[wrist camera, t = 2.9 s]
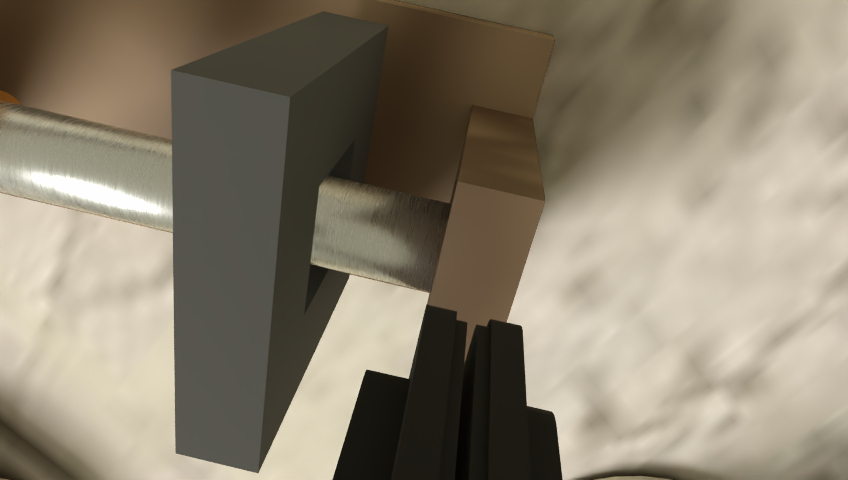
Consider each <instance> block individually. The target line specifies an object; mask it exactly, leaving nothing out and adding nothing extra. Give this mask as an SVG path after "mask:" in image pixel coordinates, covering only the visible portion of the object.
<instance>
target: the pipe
mask: <svg viewBox="0 0 848 480" xmlns="http://www.w3.org/2000/svg"><path fill="white" fill-rule="evenodd" d="M0 192H3V193H7V194H12V195H16V196H20V197H25V198H29V199H33V200H37V201H42V202H46V203H50V204H55V205H59V206H63V207H67V208H72V209H76V210H80V211H85V212H89V213H93V214H97V215H102V216H106V217H110V218H115V219H119V220H123V221H127V222H132V223H136V224H140V225H145V226H149V227H153V228H157V229H162V230H166V231H170V232H173V195H172V139H167V138H163V137H159V136H154V135H150V134H146V133H141V132H137V131H133V130H128V129H124V128H120V127H115V126H111V125H106V124H102V123H98V122H93V121H89V120H85V119H80V118H76V117H72V116H67V115H63V114H59V113H54V112H50V111H46V110H41V109H37V108H33V107H28V106H24V105H21V104H20V102H19V101H18V100H17V99H16V98H15V97H13V96H12V95H10V94H8V93H6V92H4V91H1V90H0ZM450 209H451V204H450V203H446V202H441V201H437V200H433V199H428V198H424V197H420V196H415V195H411V194H406V193H402V192H398V191H393V190H389V189H385V188H380V187H376V186H372V185H367V184H363V183H359V182H354V181H350V180H346V179H341V178H337V177H333V176H327V177H326V178H325V180H324V181H323V182H322V183H321V185H320V186H319V193H318V202H317V210H316V219H315V228H314V236H313V245H312V253H311V262H310V264H312V265H316V266H320V267H325V268H329V269H333V270H337V271H342V272H346V273H350V274H355V275H359V276H363V277H367V278H372V279H376V280H380V281H385V282H389V283H393V284H398V285H402V286H406V287H410V288H415V289H419V290H423V291H428V292H431V290H432V287H433V283H434V278H435V274H436V270H437V266H438V262H439V257H440V253H441V249H442V244H443V240H444V236H445V231H446V227H447V222H448V218H449V213H450Z"/></svg>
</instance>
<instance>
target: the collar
mask: <svg viewBox="0 0 848 480" xmlns="http://www.w3.org/2000/svg"><path fill="white" fill-rule="evenodd" d="M387 31H388V26H387V25H382V24H378V23H374V22H369V21H365V20H360V19H356V18H351V17H347V16H342V15H338V14H333V13H329V12H325V11H322V12H320V13H317V14H315V15H312V16H309V17H307V18H304V19H302V20H299V21H297V22H294V23H291V24H289V25H286V26H284V27H281V28H278V29H276V30H273V31H271V32H268V33H265V34H263V35H260V36H258V37H255V38H252V39H250V40H247V41H245V42H242V43H240V44H237V45H234V46H232V47H229V48H227V49H224V50H221V51H219V52H216V53H214V54H211V55H208V56H206V57H203V58H201V59H198V60H195V61H193V62H190V63H188V64H185V65H183V66H180V67H177V68H175V69H172V70H171V114H172V195H173V276H174V357H175V438H176V453H177V454H181V455H185V456H189V457H193V458H197V459H202V460H206V461H210V462H214V463H218V464H222V465H226V466H231V467H235V468H239V469H243V470H247V471H251V472H256V473H259V470H260V468H261V466H262V464H263V462H264V460H265V458H266V455H267V453H268V451H269V449H270V447H271V445H272V442H273V440H274V438H275V436H276V434H277V432H278V430H279V427H280V425H281V423H282V421H283V419H284V417H285V414H286V412H287V410H288V408H289V406H290V404H291V401H292V399H293V397H294V395H295V393H296V391H297V389H298V386H299V384H300V382H301V380H302V378H303V376H304V373H305V371H306V369H307V367H308V365H309V363H310V361H311V358H312V356H313V354H314V352H315V350H316V348H317V345H318V343H319V341H320V339H321V337H322V335H323V333H324V330H325V328H326V326H327V324H328V322H329V320H330V317H331V315H332V313H333V311H334V309H335V307H336V304H337V302H338V300H339V298H340V296H341V294H342V292H343V289H344V287H345V285H346V283H347V281H348V279H349V275H350V273H346V272H342V271H337V270H333V269H329V268H325V267H320V266H316V265H312V264H310V262H311V253H312V245H313V236H314V228H315V219H316V210H317V202H318V193H319V186H320V185H321V183H322V182H323V181H324V180H325V178H326V177H327V176H333V177H337V178H341V179H346V180H350V181H354V182H359V183H363V184H364V179H365V172H366V166H367V159H368V153H369V147H370V140H371V134H372V127H373V121H374V115H375V108H376V102H377V95H378V89H379V83H380V76H381V70H382V63H383V57H384V51H385V44H386V38H387Z"/></svg>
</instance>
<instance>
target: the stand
mask: <svg viewBox="0 0 848 480" xmlns="http://www.w3.org/2000/svg"><path fill="white" fill-rule="evenodd" d="M322 11H325V12H329V13H333V14H338V15H342V16H347V17H351V18H356V19H360V20H365V21H369V22H374V23H378V24H382V25H387V26H388V31H387V38H386V44H385V51H384V57H383V63H382V70H381V76H380V83H379V89H378V95H377V102H376V108H375V115H374V121H373V127H372V134H371V140H370V147H369V153H368V159H367V166H366V172H365V179H364V184H367V185H372V186H376V187H380V188H385V189H389V190H393V191H398V192H402V193H406V194H411V195H415V196H420V197H424V198H428V199H433V200H437V201H441V202H446V203H450V204H451V209H450V213H449V218H448V222H447V227H446V231H445V236H444V240H443V244H442V249H441V253H440V257H439V262H438V266H437V270H436V274H435V278H434V283H433V287H432V290H431V292H428V291H424V292H428V293H430V294H429V298H428V303H427V305H431V306H436V307H440V308H445V309H449V310H453V311H457V319H456V320H460V321H464V322H467V336H466V348H465V360H466V356H467V353H468V350H469V346H470V343H471V339H472V336H473V333H474V329H475V327H476V325H482V326H486V327H487V324H488V322H489V320H490V319H493V320H498V321H502V322H507V319H508V316H509V313H510V310H511V306H512V303H513V300H514V297H515V294H516V291H517V288H518V285H519V282H520V278H521V275H522V272H523V269H524V266H525V263H526V260H527V257H528V254H529V250H530V247H531V244H532V241H533V238H534V235H535V232H536V229H537V226H538V222H539V219H540V216H541V213H542V210H543V207H544V204H545V196H544V190H543V183H542V177H541V171H540V164H539V158H538V151H537V145H536V138H535V132H534V125H533V119H532V118H533V115H534V111H535V108H536V104H537V101H538V98H539V94H540V91H541V87H542V84H543V80H544V77H545V73H546V70H547V66H548V63H549V59H550V56H551V52H552V49H553V46H554V42H555V39H554V37H553V36H552V35H547V34H543V33H539V32H534V31H530V30H525V29H521V28H516V27H512V26H507V25H503V24H498V23H494V22H489V21H485V20H480V19H476V18H471V17H467V16H462V15H458V14H453V13H449V12H445V11H440V10H436V9H431V8H427V7H422V6H418V5H413V4H409V3H404V2H400V1H395V0H0V90H1V91H4V92H6V93H8V94H10V95H12V96H13V97H15V98H16V99H17V100H18V101H19V102H20V104H21V105H24V106H28V107H33V108H37V109H41V110H46V111H50V112H54V113H59V114H63V115H67V116H72V117H76V118H80V119H85V120H89V121H93V122H98V123H102V124H106V125H111V126H115V127H120V128H124V129H128V130H133V131H137V132H141V133H146V134H150V135H154V136H159V137H163V138H167V139H172V114H171V70H172V69H175V68H177V67H180V66H183V65H185V64H188V63H190V62H193V61H195V60H198V59H201V58H203V57H206V56H208V55H211V54H214V53H216V52H219V51H221V50H224V49H227V48H229V47H232V46H234V45H237V44H240V43H242V42H245V41H247V40H250V39H252V38H255V37H258V36H260V35H263V34H265V33H268V32H271V31H273V30H276V29H278V28H281V27H284V26H286V25H289V24H291V23H294V22H297V21H299V20H302V19H304V18H307V17H309V16H312V15H315V14H317V13H320V12H322ZM0 193H3V192H0ZM4 194H7V193H4ZM8 195H12V194H8ZM12 196H16V195H12ZM16 197H20V196H16ZM21 198H25V197H21ZM25 199H29V198H25ZM29 200H33V199H29ZM34 201H37V200H34ZM38 202H42V201H38ZM42 203H46V202H42ZM46 204H50V203H46ZM51 205H55V204H51ZM55 206H59V205H55ZM59 207H63V206H59ZM64 208H67V207H64ZM68 209H72V208H68ZM72 210H76V209H72ZM77 211H80V210H77ZM81 212H85V211H81ZM85 213H89V212H85ZM89 214H93V213H89ZM94 215H97V214H94ZM98 216H102V215H98ZM102 217H106V216H102ZM107 218H110V217H107ZM111 219H115V218H111ZM115 220H119V219H115ZM119 221H123V220H119ZM124 222H127V221H124ZM128 223H132V222H128ZM132 224H136V223H132ZM137 225H140V224H137ZM141 226H145V225H141ZM145 227H149V226H145ZM149 228H153V227H149ZM154 229H157V228H154ZM158 230H162V229H158ZM162 231H166V230H162ZM167 232H170V231H167ZM171 233H173V232H171ZM351 275H355V274H351ZM355 276H359V275H355ZM359 277H363V276H359ZM364 278H367V277H364ZM368 279H372V278H368ZM372 280H376V279H372ZM377 281H380V280H377ZM381 282H385V281H381ZM385 283H389V282H385ZM389 284H393V283H389ZM394 285H398V284H394ZM398 286H402V285H398ZM402 287H406V286H402ZM407 288H410V287H407ZM411 289H415V288H411ZM415 290H419V289H415ZM419 291H423V290H419ZM464 363H465V361H464Z"/></svg>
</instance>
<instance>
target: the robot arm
mask: <svg viewBox="0 0 848 480" xmlns="http://www.w3.org/2000/svg"><path fill="white" fill-rule="evenodd" d="M456 319H457V311H453V310H449V309H445V308H440V307H436V306H431V305H426V309H425V313H424V317H423V321H422V325H421V330H420V334H419V338H418V342H417V347H416V351H415V355H414V359H413V363H412V368H411V372H410V376H409V379H406V378H402V377H397V376H393V375H388V374H384V373H380V372H375V371H371V370H366V372H365V375H364V378H363V381H362V384H361V388H360V391H359V394H358V398H357V401H356V404H355V408H354V411H353V414H352V417H351V421H350V424H349V427H348V431H347V434H346V437H345V441H344V444H343V447H342V451H341V454H340V457H339V460H338V464H337V467H336V470H335V474H334V477H333V480H562V472H561V463H560V454H559V445H558V436H557V427H556V421H555V416H554V414H553V413H552V412H551V411H547V410H542V409H538V408H533V407H529V406H527V402H526V384H525V366H524V348H523V330H522V327H521V326H520V325H515V324H511V323H507V322H502V321H498V320H493V319H490V320H489V322H488V324H487V327H486V326H482V325H476V327H475V329H474V333H473V336H472V339H471V343H470V346H469V350H468V353H467V356H466V360H465V348H466V336H467V322H464V321H460V320H456ZM464 361H465V363H464ZM595 480H671V479H665V478H656V477H647V476H615V477H608V478H602V479H595Z"/></svg>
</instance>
